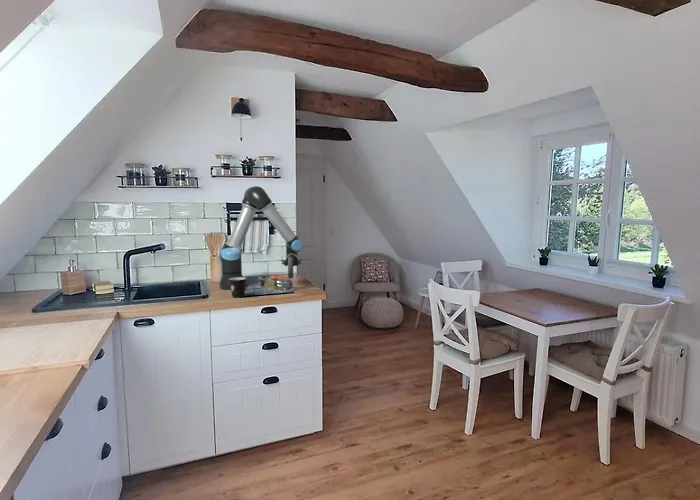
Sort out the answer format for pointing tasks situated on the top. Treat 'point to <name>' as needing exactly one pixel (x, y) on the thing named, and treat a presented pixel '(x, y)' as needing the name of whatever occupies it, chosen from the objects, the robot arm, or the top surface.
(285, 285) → the valve
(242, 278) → the coffee mug
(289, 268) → the lever
